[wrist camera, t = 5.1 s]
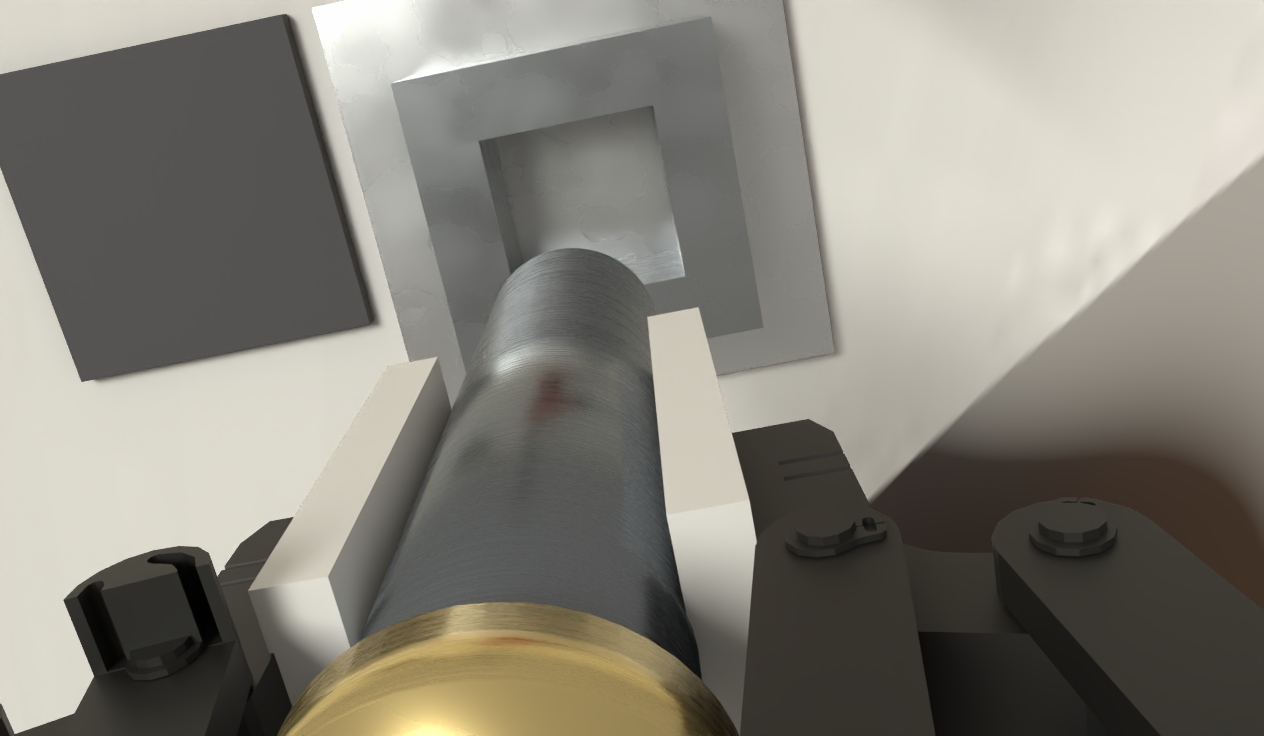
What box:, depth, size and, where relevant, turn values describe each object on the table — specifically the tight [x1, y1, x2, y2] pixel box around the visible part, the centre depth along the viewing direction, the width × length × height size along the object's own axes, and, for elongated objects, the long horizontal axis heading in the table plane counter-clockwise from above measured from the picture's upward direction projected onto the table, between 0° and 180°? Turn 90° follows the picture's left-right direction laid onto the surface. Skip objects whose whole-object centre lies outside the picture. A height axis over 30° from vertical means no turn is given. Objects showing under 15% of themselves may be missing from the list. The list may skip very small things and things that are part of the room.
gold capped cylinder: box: [277, 248, 740, 736], centre depth 14 cm, size 4×4×14 cm
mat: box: [0, 14, 374, 382], centre depth 36 cm, size 10×10×1 cm
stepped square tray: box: [312, 0, 835, 409], centre depth 34 cm, size 14×14×4 cm
